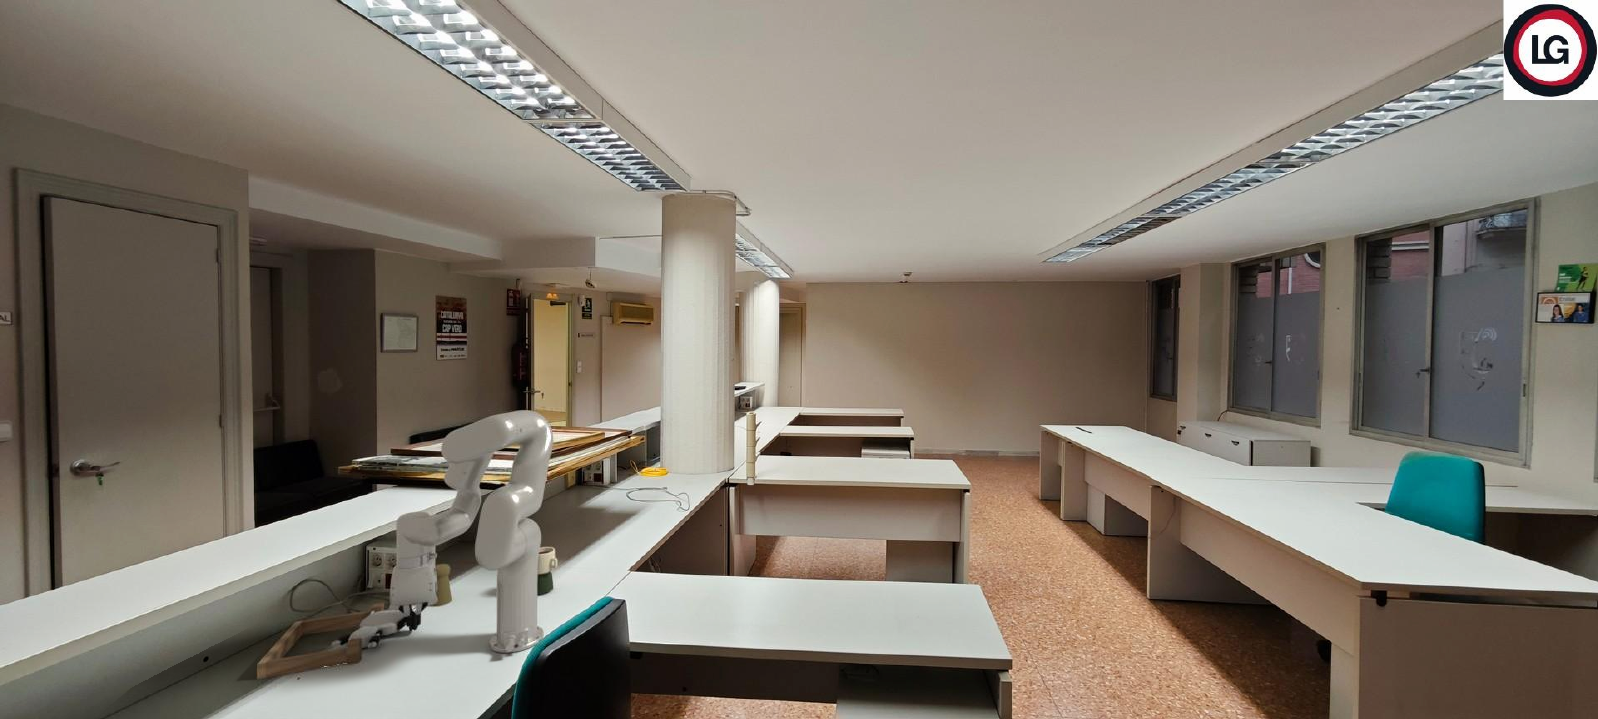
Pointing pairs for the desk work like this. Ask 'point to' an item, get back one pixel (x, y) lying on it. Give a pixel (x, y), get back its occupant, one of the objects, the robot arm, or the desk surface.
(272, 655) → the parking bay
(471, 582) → the desk surface
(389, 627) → the robot toy
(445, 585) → the cork
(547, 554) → the character mug
